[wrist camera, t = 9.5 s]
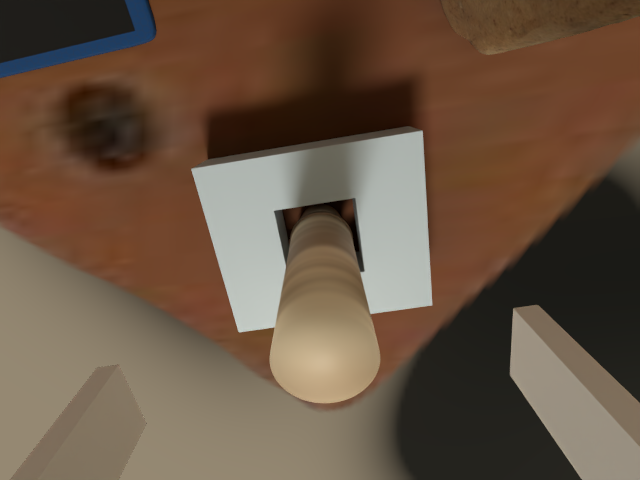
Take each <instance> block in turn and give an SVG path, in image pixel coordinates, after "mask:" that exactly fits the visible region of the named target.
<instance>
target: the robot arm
mask: <svg viewBox="0 0 640 480" xmlns="http://www.w3.org/2000/svg"><path fill="white" fill-rule="evenodd" d="M512 327H513V328H512V345H511V346H512V347H511V363H510V375H511V377H512V378H513V380H514V381H515V383H516V384H517V386H518V387H519V389H520V390H521V392H522V393H523V394H524V396H525V397H526V399H527V400H528V402H529V403H530V405H531V406H532V407H533V409H534V410H535V412H536V413H537V415H538V416H539V418H540V419H541V420H542V422H543V424H544V425H545V426H546V428H547V429H548V430H549V432H550V434H551V435H552V437H553V438H554V439H555V441H556V442H557V444H558V445H559V447H560V448H561V450H562V451H563V453H564V454H565V455H566V457H567V458H568V460H569V461H570V463H571V464H572V466H573V467H574V469H575V470H576V471H577V473H578V474H579V476H580V477H581V479H582V480H640V403H639V402H638V401H637V400H636V399H635V398H634V397H633V396H632V395H631V394H630V393H629V392H628V391H627V390H626V389H625V388H624V387H622V386H621V385H620V384H619V383H618V382H617V381H616V380H615V379H614V378H613V377H612V376H611V375H610V374H609V373H608V372H607V371H606V370H605V369H604V368H603V367H602V366H600V364H599V363H598V362H597V361H595V360H594V359H593V358H592V357H591V356H590V355H589V354H588V353H587V352H586V351H585V350H584V349H583V348H582V347H581V346H580V345H579V344H578V343H577V342H576V341H575V340H574V339H573V338H572V337H571V336H569V335H568V334H567V333H566V332H565V331H564V330H563V329H562V328H561V327H560V326H559V325H558V324H557V323H556V322H555V321H554V320H553V319H552V318H551V317H550V316H549V315H548V314H547V313H546V312H545V311H543V310H542V309H541V308H540V307H539V306H538V305H533V306H527V307H519V308H513V326H512ZM146 424H147V423H146V421H145V419H144V417H143V415H142V412H141V410H140V408H139V406H138V404H137V402H136V400H135V398H134V396H133V393H132V391H131V389H130V387H129V385H128V383H127V381H126V379H125V376H124V374H123V372H122V370H121V368H120V366H119V365H112V366H106V367H98V368H97V369H96V370H95V371H94V372H93V374H92V375H91V376H90V377H89V379H88V380H87V381H86V383H85V384H84V385H83V386H82V388H81V389H80V390H79V392H78V393H77V394H76V395H75V397H74V398H73V399H72V401H71V402H70V403H69V404H68V406H67V407H66V408H65V410H64V411H63V412H62V414H61V415H60V416H59V417H58V419H57V420H56V421H55V422H54V424H53V425H52V426H51V428H50V429H49V430H48V432H47V433H46V434H45V435H44V437H43V438H42V439H41V440H40V442H39V443H38V444H37V446H36V447H35V448H34V449H33V451H32V452H31V453H30V455H29V456H28V457H27V458H26V460H25V461H24V462H23V464H22V465H21V466H20V467H19V469H18V470H17V471H16V473H15V474H14V475H13V477H12V478H11V479H10V480H119V478H120V476H121V474H122V472H123V470H124V468H125V466H126V464H127V462H128V460H129V458H130V455H131V454H132V452H133V450H134V448H135V446H136V444H137V442H138V440H139V438H140V436H141V434H142V432H143V430H144V428H145V426H146Z"/></svg>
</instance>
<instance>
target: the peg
mask: <svg viewBox="0 0 640 480" xmlns="http://www.w3.org/2000/svg"><path fill="white" fill-rule="evenodd" d="M379 365H380V351H379V347H378V343H377V339H376V335H375V330H374V326H373V322H372V318H371V314H370V310H369V306H368V302H367V298H366V294H365V290H364V286H363V282H362V277H361V273H360V269H359V265H358V261H357V257H356V253H355V249H354V245H353V236H352V232H351V229H350V227H349V225H348V224H347V223H346V222H345V221H344V219H342V218H341V216H340V214H339V213H338V212H337V211H336V210H335V209H334V208H333V207H331V206H329V205H325V204H317V205H313V206H311V207H309V208H308V209H307V210H305V212H304V213H303V214H302V216H301V218H300V220H298V222H297V223H296V224H295V225H294V227H293V229H292V232H291V235H290V247H289V253H288V258H287V264H286V269H285V275H284V280H283V286H282V291H281V296H280V302H279V307H278V313H277V318H276V324H275V329H274V335H273V340H272V346H271V351H270V366H271V370H272V373H273V375H274V377H275V379H276V380H277V382H278V383H279V384H280V385H281V386H282V387H283V388H284V389H285V390H286V391H287V392H289V393H290V394H292V395H294V396H296V397H298V398H300V399H303V400H306V401H310V402H316V403H333V402H339V401H343V400H346V399H349V398H351V397H353V396H355V395H357V394H359V393H360V392H361V391H363V390H364V389H365V388H366V387H367V386H368V385H369V384H370V383H371V382H372V381H373V379H374V378H375V376H376V374H377V372H378V368H379Z"/></svg>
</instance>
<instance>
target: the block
mask: <svg viewBox="0 0 640 480" xmlns="http://www.w3.org/2000/svg"><path fill="white" fill-rule="evenodd" d="M441 4H442V8H443V10H444V13H445V15H446V17H447V19H448V21H449V23H450V25H451V27H452V28H453V30H454V31H455V32H456V33H457V34H459V35H460V36H462V37H463V38H465V39H467V40H469V41H470V43H471V44H472V45H473V46H474V47H475V48H476V49H477V50H478V51H479V52H480V53H483V54H487V55H491V54H497V53H503V52H506V51H510V50H514V49H519V48H523V47H528V46H532V45H536V44H540V43H545V42H549V41H553V40H556V39H560V38H564V37H569V36H573V35H576V34H580V33H584V32H587V31H591V30H594V29H597V28H600V27H603V26H606V25H609V24H614V23H619V22H622V21H625V20H628V19H631V18H634V17H638V16H640V0H441Z"/></svg>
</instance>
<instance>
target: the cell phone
mask: <svg viewBox="0 0 640 480" xmlns="http://www.w3.org/2000/svg"><path fill="white" fill-rule="evenodd" d="M155 35H156V26H155V21H154V17H153V14H152V11H151V8H150V5H149V2H148V0H0V78H2V77H6V76H10V75H15V74H19V73H23V72H27V71H31V70H36V69H40V68H44V67H48V66H53V65H57V64H61V63H65V62H70V61H74V60H78V59H82V58H86V57H91V56H95V55H99V54H103V53H108V52H112V51H116V50H120V49H125V48H129V47H133V46H136V45H140V44H144V43H147V42H149V41H151V40H153V39H154V38H155Z"/></svg>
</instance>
